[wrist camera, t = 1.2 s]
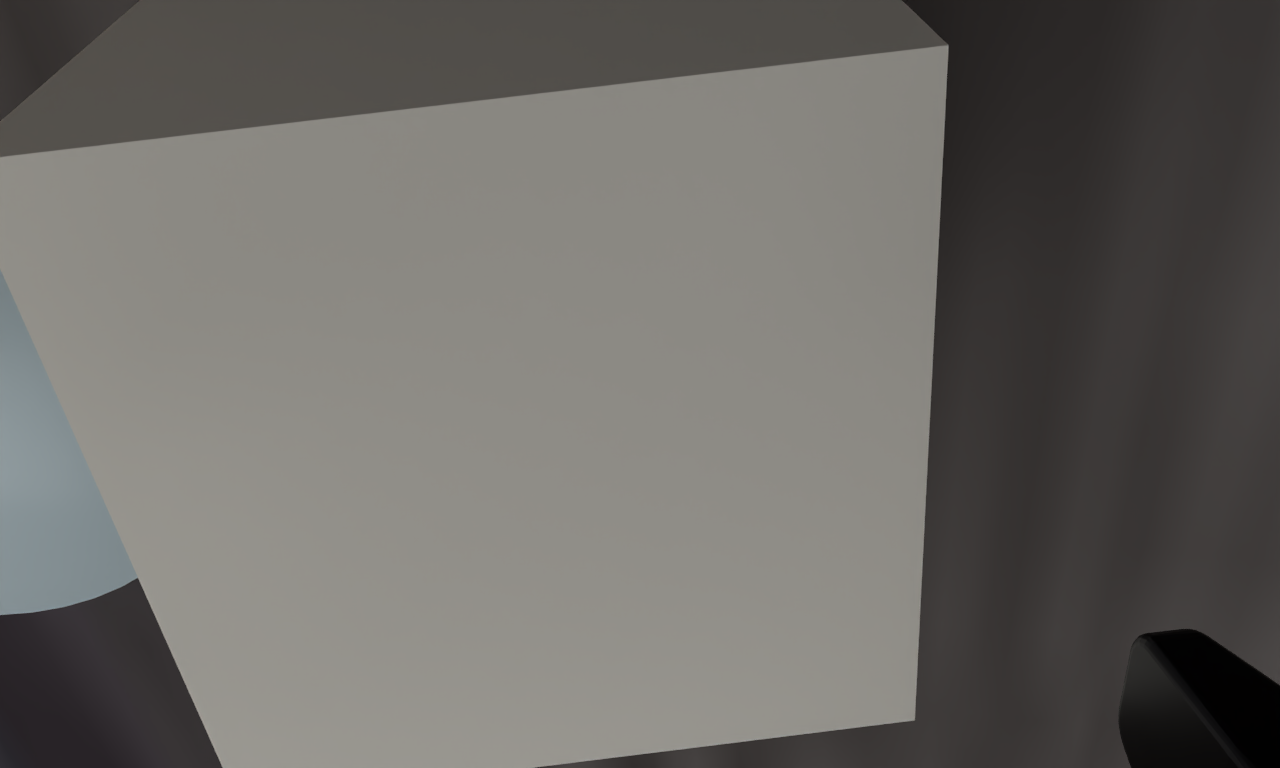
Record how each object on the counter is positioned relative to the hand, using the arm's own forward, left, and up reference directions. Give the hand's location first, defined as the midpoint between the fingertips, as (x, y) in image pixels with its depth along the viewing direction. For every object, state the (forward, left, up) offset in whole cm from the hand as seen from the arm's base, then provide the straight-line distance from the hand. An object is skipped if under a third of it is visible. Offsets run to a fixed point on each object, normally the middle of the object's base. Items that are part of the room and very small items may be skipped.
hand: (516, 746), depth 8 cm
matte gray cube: (0, 0, -12) cm, 12 cm away
